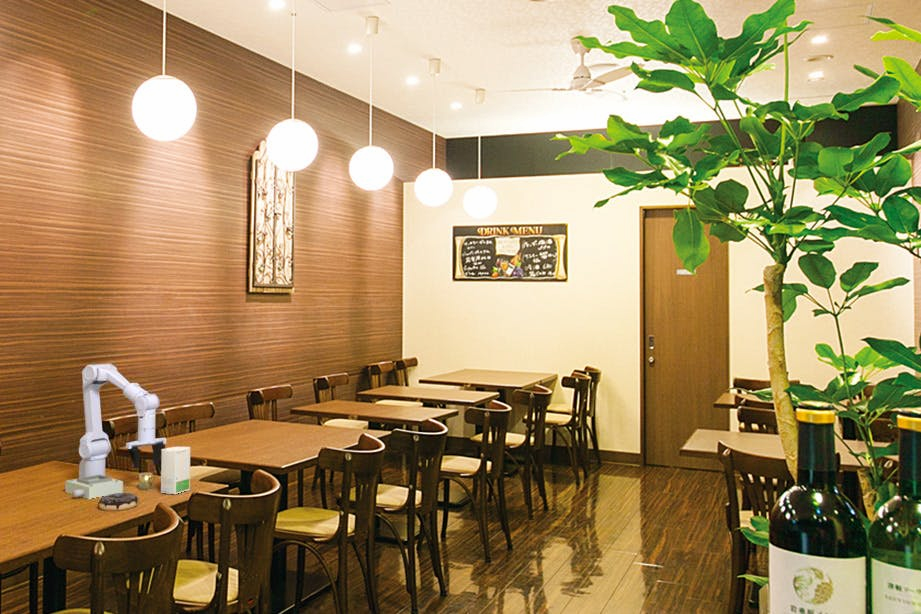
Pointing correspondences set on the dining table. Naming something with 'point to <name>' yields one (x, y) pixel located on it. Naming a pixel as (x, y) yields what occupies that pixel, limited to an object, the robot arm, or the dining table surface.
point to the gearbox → (93, 486)
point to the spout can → (145, 481)
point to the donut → (118, 502)
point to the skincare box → (175, 470)
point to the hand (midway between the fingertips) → (146, 466)
